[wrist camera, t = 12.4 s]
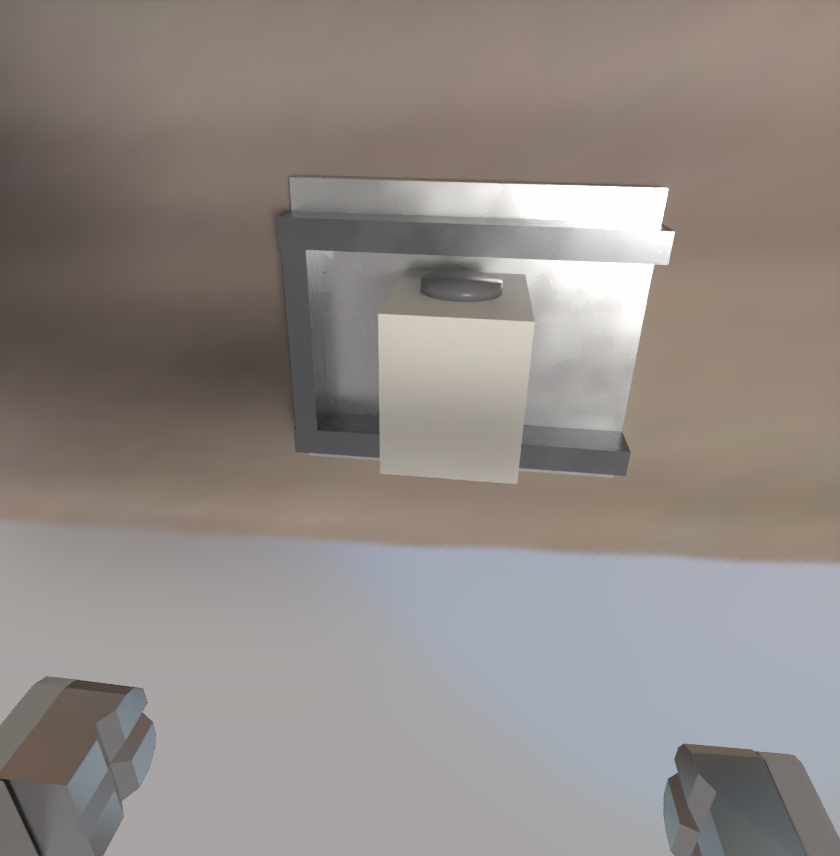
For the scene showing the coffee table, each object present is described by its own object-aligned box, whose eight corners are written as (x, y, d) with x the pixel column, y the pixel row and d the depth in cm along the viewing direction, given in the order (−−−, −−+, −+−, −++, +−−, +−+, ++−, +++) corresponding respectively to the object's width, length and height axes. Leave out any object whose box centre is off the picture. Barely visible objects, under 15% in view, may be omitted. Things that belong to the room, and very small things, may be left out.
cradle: (314, 446, 31) (297, 475, 28) (296, 175, 25) (272, 181, 23) (609, 467, 30) (620, 500, 27) (661, 186, 24) (682, 193, 21)
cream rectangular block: (405, 397, 28) (380, 473, 22) (407, 258, 25) (378, 299, 19) (512, 404, 28) (516, 483, 22) (526, 263, 25) (536, 307, 19)
